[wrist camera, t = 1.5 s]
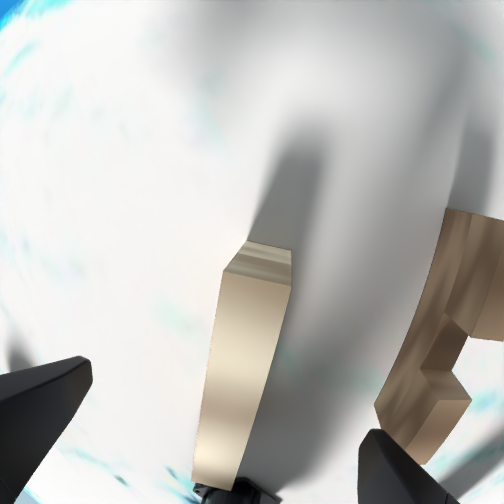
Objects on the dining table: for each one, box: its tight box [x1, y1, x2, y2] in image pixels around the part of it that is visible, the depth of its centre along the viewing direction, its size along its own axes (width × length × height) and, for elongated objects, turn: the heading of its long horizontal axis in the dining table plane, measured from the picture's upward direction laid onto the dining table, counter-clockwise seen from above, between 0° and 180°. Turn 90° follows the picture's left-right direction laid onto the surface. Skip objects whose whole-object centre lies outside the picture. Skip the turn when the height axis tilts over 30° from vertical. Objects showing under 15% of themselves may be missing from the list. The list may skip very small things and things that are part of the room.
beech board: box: [191, 241, 292, 491], centre depth 15 cm, size 14×2×6 cm, turn 169°
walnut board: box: [374, 208, 504, 465], centre depth 13 cm, size 14×2×6 cm, turn 169°
